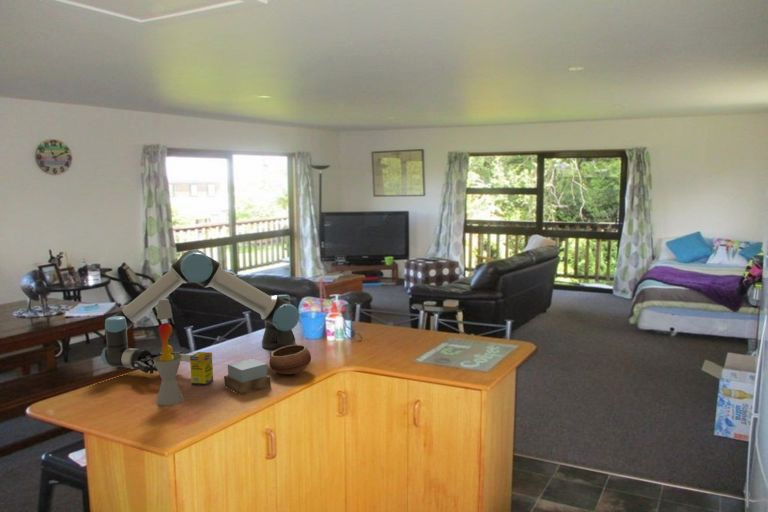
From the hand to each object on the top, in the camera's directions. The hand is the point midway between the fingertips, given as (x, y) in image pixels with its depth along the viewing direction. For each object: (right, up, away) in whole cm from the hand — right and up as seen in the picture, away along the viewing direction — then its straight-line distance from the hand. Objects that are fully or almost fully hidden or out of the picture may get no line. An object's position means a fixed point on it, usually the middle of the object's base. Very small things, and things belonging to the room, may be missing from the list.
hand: (181, 363), depth 220 cm
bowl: (+40, -5, +7) cm, 41 cm away
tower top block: (+27, -3, -8) cm, 28 cm away
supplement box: (+9, -7, -2) cm, 11 cm away
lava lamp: (+3, -9, -20) cm, 22 cm away
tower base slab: (+27, -7, -8) cm, 29 cm away
